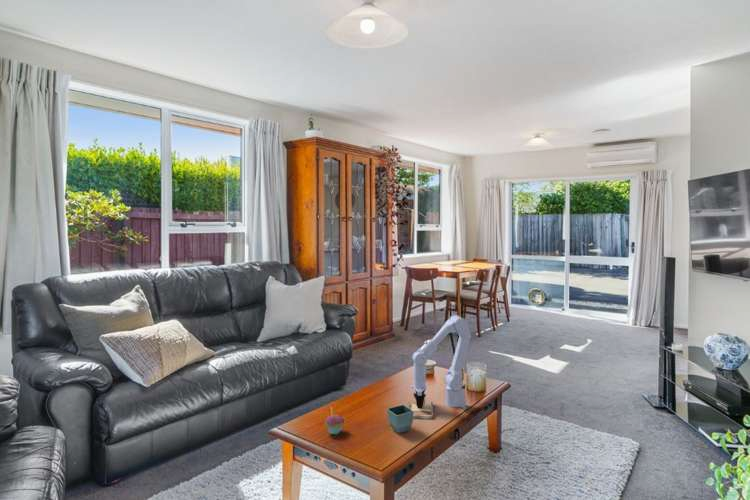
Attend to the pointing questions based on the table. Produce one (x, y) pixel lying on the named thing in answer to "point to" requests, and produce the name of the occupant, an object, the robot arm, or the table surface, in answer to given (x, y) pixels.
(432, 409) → the rails
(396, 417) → the flower pot
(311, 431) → the table surface
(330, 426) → the cupcake
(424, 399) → the ball
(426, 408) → the lane
